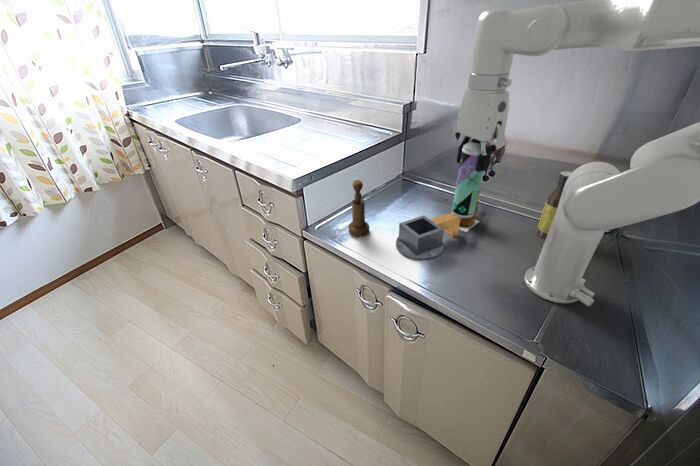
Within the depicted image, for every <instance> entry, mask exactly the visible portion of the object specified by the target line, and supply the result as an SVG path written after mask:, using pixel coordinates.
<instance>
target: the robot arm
mask: <svg viewBox="0 0 700 466" xmlns="http://www.w3.org/2000/svg"><path fill="white" fill-rule="evenodd" d="M689 47H692V48H693V47H700V0H583V1H575V2H568V3H561V4H560V3H559V4H546V5H540V6H536V7H531V8H523V9H517V8H493V9H492V8H491V9H488V10H487V9H486V10H484V11H483V12H481V14H480V15H479V17H478V20H477V25H476V31H475V38H474V45H473V50H472V51H473V52H472V56H471V57H472V58H471V63H470V68H469V69H470V70H469V74H468V82H467V87H466V88H465V90H464V93H463V96H462V100H461V102H460V107H459V112H458V114H457V115H458V116H457V121H455V123H454V124H452V127H451V128H452V131H453V132H454V135H455V138H456V141H457V143H456V146H457V147H458V148H457V149H458V151H457V157H456V163H458V164H460V160H461V154H462V148H463V145H464V144H466V143H469V142H470V140H472V139H476V140H478V141H481V154H480V155H479V156H478V161H477V166H476V171H477V172H480V171H483V172H484V171H487V170H488V169H489V166H490V161H491V157H492V155H493V154H494V153H495V152H497V151H498V150H500V149H501V148H503V147H504V146H506V145H507V144H508V141H507V137H506V135H505V133H506V127H507V123H508V116H509V109H510V92H509V90H507V88H509V87H510V86H511V85H512V83H513V82H512V80H511V79H510V73H511V69H512V64H513V60H514V56H515V55H520V56H521V55H522V56H525V57H542V56H544V55H547V54H548V53H551V52H552V51H557V50H558V51H559V50H569V49H582V48H584V49H585V48H607V49H608V48H609V49H614V50H618V51H619V50H620V51H649V50H664V49H674V48H675V49H677V48H689ZM495 140H496V142H495ZM487 147H488V148H487ZM629 165H630V166H629V168H630V169H627V170H624V171H621V172H620V170H619V169H618V168H617V167H616V166H614V165H613V164H611V163H607V162H603V161H592V162H591V161H590V162H587V163H585V164H582V165H580V166H579V167H577V168H576V169H574V170H573V171H571V172H572V173H571V174H570V176H569V177H568V179H567V181H566V183H565V186H564V189H563V192H562V195H561V198H560V201H559V205H558V208H557V210H556V213H555V216H554V219H553V222H552V224H551V227H550V229H549V232H548V234H547V237H546V238H545V240H544V243H543V245H542V248H541V250H540V253H539V256H538V259H537V262H536V265H535V266H533V267H530V268H529V269H527V271H525V274H524V284H526V287H528V289H529V290H530V291H531V292H532V293H534V294H535V295H537V296H538V297H539V298H542V299H544V300H547V301H549V302H553V303H556V304H557V303H558V304H573V303H576V302H578V301H579V302H581V303H583V304H584V305H585V306H587V307H590V306H592V304H594V302H595V299H593V297H594V296H595V292H593V291H592V290H589V289H588V288H586V286H585V283H586V281H587V280H586V279H585V278H583V276H584V274H585V272H586V270H587V268H588V266H589V263H591V259H592V257H593V256H594V253H595V252H596V249H597V247H598V245H599V244H600V243H601V240H602V238H603V236H604V234H605V232H606V231H610V230H614V229H618V228H622V227H625V226H630V225H633V224H636V223H641V222H644V221H647V220H651V219H655V218H658V217H661V216H666V215H669V214H672V213H675V212H679V211H682V210H685V209H688V208H689V207H691V206H693V205H696V204H697V203H699V202H700V121H698V122H696V123H693V124H691V125H688V126H686V127H684V128H681V129H679V130H676V131H674V132H672V133H668V134H666V135H664V136H661V137H658V138H656V139H654V140H652V141H651V140H650V141H648V142H646V143H645V144H643V145H642V146H640V147H639V148H637V149H636V150H635V151H634V153H633V155H632V157H631V159H630V162H629Z"/></svg>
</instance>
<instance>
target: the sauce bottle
mask: <svg viewBox="0 0 700 466" xmlns="http://www.w3.org/2000/svg"><path fill="white" fill-rule="evenodd" d="M572 172H573V171H566V170H565V171H561V172H559V176H558V182H557V184H556V186H555V188H554V189H552V190H551V191H550V193H549V194H548V196H547V199H546V201H545V205H544V207H543V210H542V213H541V216H540V219H539V223H538V226H537V230H536V234H537V236H539V237H540V238H543V239H546V237H547V234H548V232H549V229H550V227H551V224H552V222H553V219H554V216H555V213H556V210H557V208H558V205H559V201H560V198H561V195H562V192H563V189H564V186H565V183H566V181H567V179H568V177H569V176H570V174H571V173H572Z"/></svg>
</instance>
